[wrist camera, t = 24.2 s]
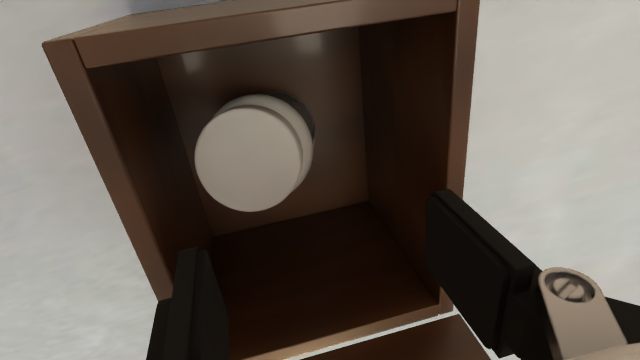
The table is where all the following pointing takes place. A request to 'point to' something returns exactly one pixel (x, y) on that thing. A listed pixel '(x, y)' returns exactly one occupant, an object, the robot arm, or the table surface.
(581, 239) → the table surface
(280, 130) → the pill bottle
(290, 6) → the chest
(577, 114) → the table surface
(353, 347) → the lid
